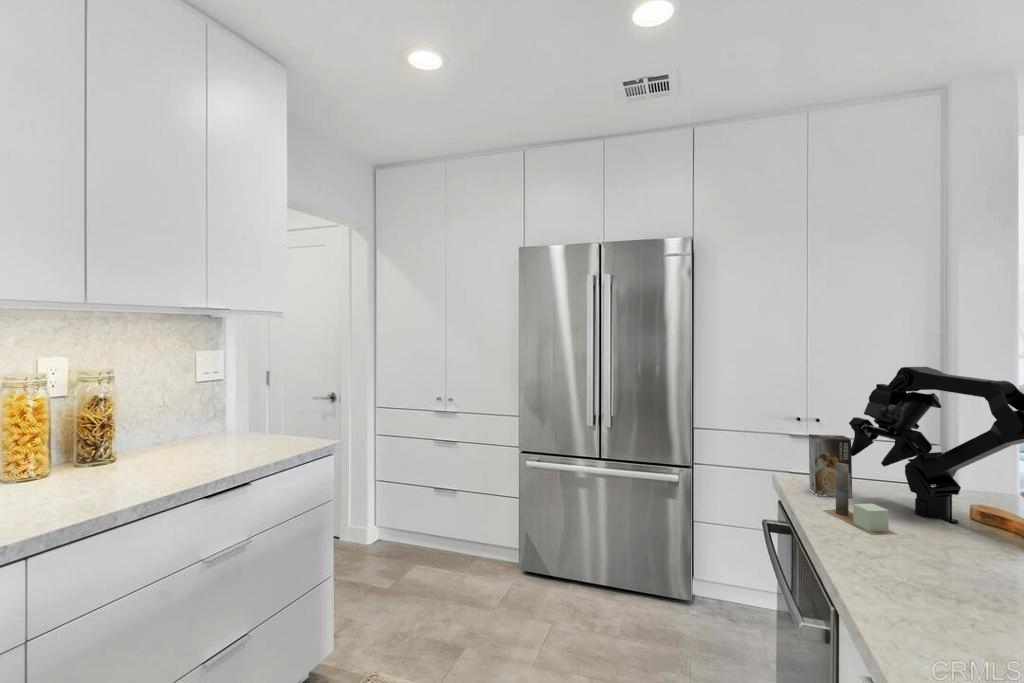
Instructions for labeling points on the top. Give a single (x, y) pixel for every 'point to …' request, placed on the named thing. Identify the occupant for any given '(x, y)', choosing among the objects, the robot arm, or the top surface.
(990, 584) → the top surface
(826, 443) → the coffee box
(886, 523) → the sage cube
